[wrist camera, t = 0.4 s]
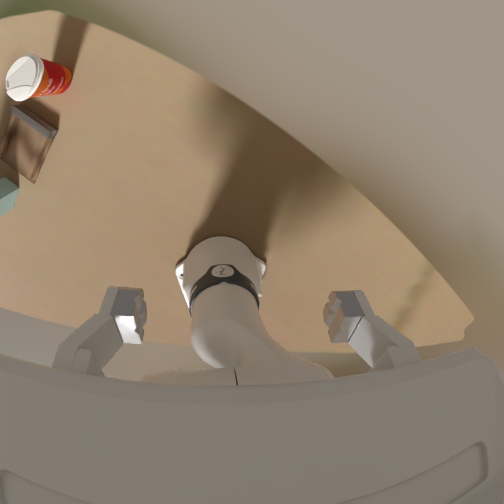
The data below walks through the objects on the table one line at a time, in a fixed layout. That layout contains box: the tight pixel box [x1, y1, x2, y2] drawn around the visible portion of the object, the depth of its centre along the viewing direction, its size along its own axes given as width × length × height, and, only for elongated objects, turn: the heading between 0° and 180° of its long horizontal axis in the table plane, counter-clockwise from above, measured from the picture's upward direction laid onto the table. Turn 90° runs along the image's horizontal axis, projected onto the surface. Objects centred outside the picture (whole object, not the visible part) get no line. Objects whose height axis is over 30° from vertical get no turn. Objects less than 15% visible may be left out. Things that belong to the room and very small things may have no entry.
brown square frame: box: [0, 105, 58, 184], centre depth 38 cm, size 12×12×3 cm
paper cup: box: [6, 54, 72, 101], centre depth 30 cm, size 8×8×14 cm
